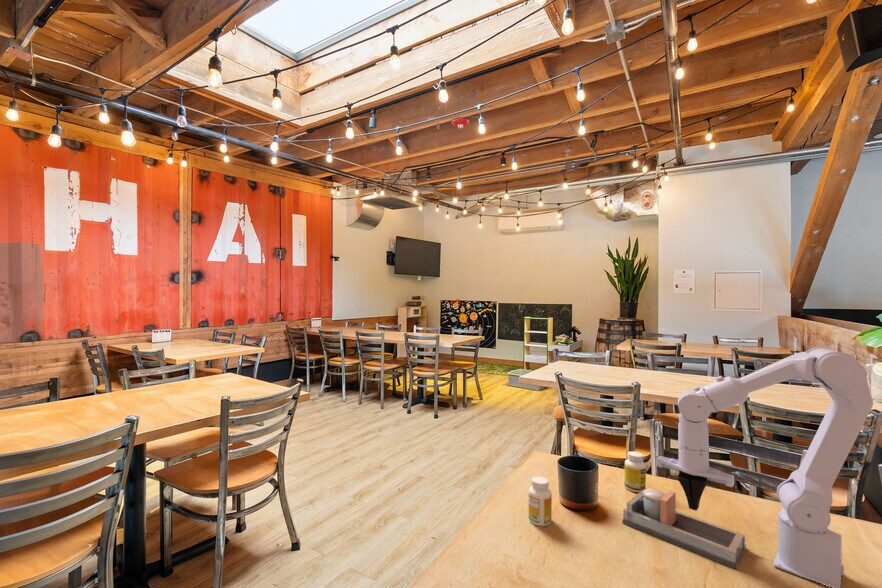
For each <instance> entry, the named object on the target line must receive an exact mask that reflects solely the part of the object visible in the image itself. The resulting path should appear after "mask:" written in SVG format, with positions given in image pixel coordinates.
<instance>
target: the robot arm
mask: <svg viewBox="0 0 882 588" xmlns="http://www.w3.org/2000/svg"><path fill="white" fill-rule="evenodd" d="M867 376H868V371H867V370H866V369H865V368H864V366H862V364H861V363H860V362H859V361H858V360H857V359H856V358H855V357H854V356H853V355H851V354H849V353H846V352H842V351H837V350H834V349H832V348H829V347H826V346H825V347H824V346H818V347H817V346H816V347H813V348H809V349H808V350H807V351H801V352H797V353H794V354H791V355H789V356H787V357H784V358H783V359H780V360H778V361H776V362H773V363H771V364H769V365H767V366H764V367H763V368H760V369H758V370H756V371H753V372H751V373H748V374H747V375H744V376H742V377H739V378H737V377H733V376H731V375H730V376H729V375H727V376H725V377H723V376H722V375H718V376H717V377H715V380H714V381H713V382H711V383H707V384H705V385H703V386H698V385H697V386H694V387H693V389H694V390H685V391H683V392H682V393H681V394H680V395H679V397H678V398H677V401H676V403H677V407H678V412H679V414H678V421H679V422H678V425H677V426H678V428H677V429H678V431H677V432H678V433H677V436H678V439H677V441H678V442H677V443H678V445H677V446H678V448H677V449H678V459H676V458H670V457H666V456H662V455H659V456H658V457H657V458H656V467H658V468H665V469H669V470H673V471H676V472H678V474H677V480H678V482H679V484H680V486H681V488H682V489H683V491H684V495H685V498H686V501H687V504H688V509H689V510H693V511H695V512H696V511H698V510H699V507H700V502H701V498H702V495H703V493H704V490H705V488H706V487H707V485H708V483H709V482H710V481H711V482H715V483H719V484H722V485H725V486H726V487H729V488H733V487H734V485H735V476H734V475H733V474H729V473H726V472H724V471H721V470H719V469H716V468H713V467H710V458H709V457H710V456H709V455H710V453H709V452H710V451H709V450H710V449H709V447H710V446H709V445H710V443H709V426H708V418H709V417H710V415H711V413H718V412H720V411H723V410H726V409H728V408H732V407H734V406H736V405H739V404H742V403H745V402H746V401H747V398H748V396H749V394H750V393H753V392H755V391H759V390H761V389H765V388H768V387H771V386H774V385H777V384H780V383H782V382H785V381H789V380H803V381H810V382H815V381H816V380H817V381H818V382H819V383H820V384H821V386H823V388H824V389H825V391H826V392H827V394H828V395H829V396H830V398H831V402H830V404H829V406H828V408H827V409H826V412H825V414H824V417H823V419H822V420H821V422H820V424H819V427H818V429H817V430H816V432H815V434H814V437H813V438H812V441H811V443H810V445H809V446H808V449H807V451H806V453H805V455H804V457H803V459H802V462H801V464H800V466H799V467H798V469H795V470H794V471H792V472H791V473H790V475H789V477H788V478H787V479H786V480H784V481H783V482H781V483H780V484H779V485H777V488H776V497H777V499H778V501H779V502H780V504H782V507H781V510H779V512H778V515H777V517H778V523H777V524H778V550H777V552H776V555H775V558H774V560H773V566H774V567H776V568H778V569H780V570H783V571H785V572H787V573H791V574H793V575H796V576H799V577H801V578H803V577H804V579H806V578H807V580H809V579H810V580H809V581H811V580H813V581H812V582H814V581H816V582H815V583H817V582H819V583H821V584H820V585H822V584H825V585H828V586H830V587H834V588H841V587H840V586H842V577H844V576H845V566H844V565H843V563H842V562H843V559H842V558H843V552H842V548H843V547H842V546H843V545H842V544H843V542H842V534H840V533H838V532H835V531H833V530H831V529H829V526H830V524H831V514H830V512H831V511H830V509H831V506H832V505H833V491H832V490H833V489H832V488H833V485H834V483H835V481H836V480H837V477H838V475H839V473H840V471H841V469H842V468H843V465H844V464H845V462H846V460H847V458H848V456H849V454H850V452H851V450H852V448H853V446H854V444H855V442H856V440H857V438H858V436H859V434H860V432H861V430H862V428H863V426H864V424H865V422H866V420H867V418H868V416H869V414H870V412H871V410H872V409H873V406H874V400H873V397H872V394H871V391H870V387H869V383H868V380H867ZM841 576H842V577H841ZM819 583H818V584H819ZM829 584H830V585H829ZM830 587H829V588H830Z"/></svg>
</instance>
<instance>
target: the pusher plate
mask: <svg viewBox="0 0 882 588" xmlns="http://www.w3.org/2000/svg"><path fill="white" fill-rule="evenodd" d="M665 494H666V495H665V496H664V497H663V498H661V499H660V522H662V523H665V524H667V525H670V526H672V525H673V524H674V522H675V521H676V511H677V510H676V501H677V500H676V498H677V497H676V492H675V491H673V490H669V491H668V492H667V493H665Z"/></svg>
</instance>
